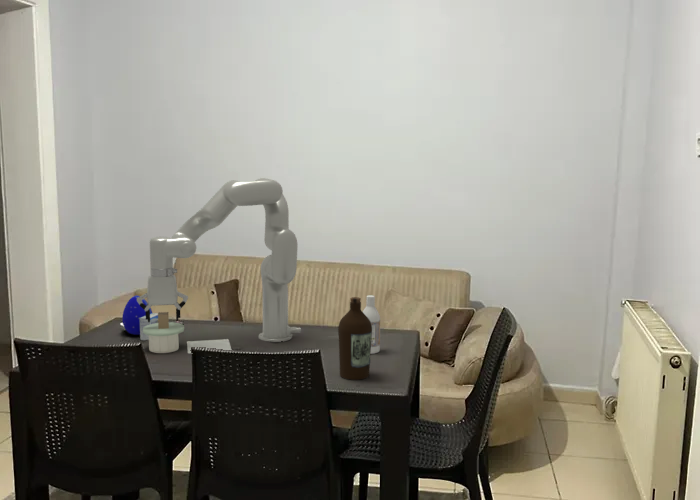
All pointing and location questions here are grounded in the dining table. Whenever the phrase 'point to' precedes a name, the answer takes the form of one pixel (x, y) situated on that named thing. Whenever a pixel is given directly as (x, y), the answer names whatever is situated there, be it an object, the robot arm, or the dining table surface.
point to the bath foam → (373, 323)
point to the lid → (163, 326)
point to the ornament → (133, 315)
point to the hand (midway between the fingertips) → (163, 320)
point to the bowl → (163, 343)
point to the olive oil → (354, 342)
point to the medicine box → (145, 322)
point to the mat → (210, 344)
